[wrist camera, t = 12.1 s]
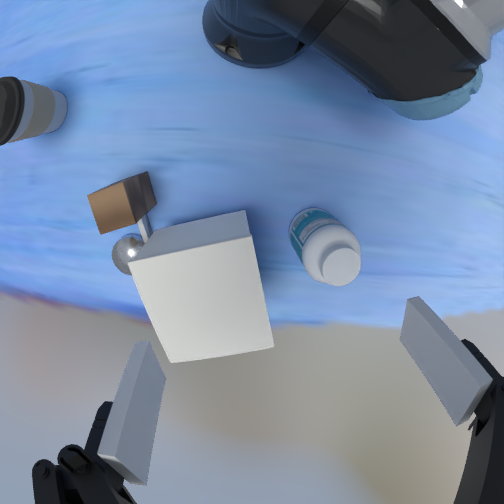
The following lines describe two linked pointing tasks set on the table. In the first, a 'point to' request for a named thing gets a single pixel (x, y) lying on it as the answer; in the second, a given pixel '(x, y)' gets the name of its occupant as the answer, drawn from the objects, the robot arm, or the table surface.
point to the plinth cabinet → (203, 288)
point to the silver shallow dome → (126, 251)
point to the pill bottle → (325, 247)
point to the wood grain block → (124, 205)
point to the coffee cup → (28, 109)
